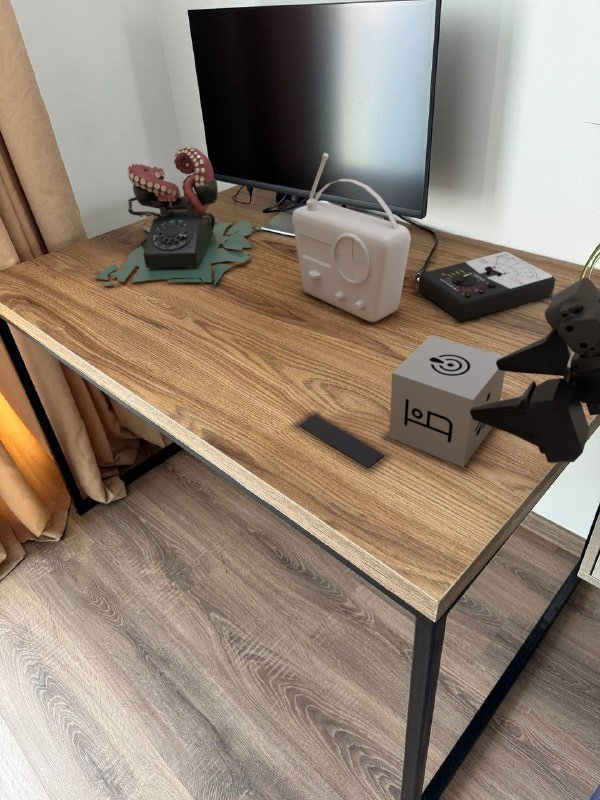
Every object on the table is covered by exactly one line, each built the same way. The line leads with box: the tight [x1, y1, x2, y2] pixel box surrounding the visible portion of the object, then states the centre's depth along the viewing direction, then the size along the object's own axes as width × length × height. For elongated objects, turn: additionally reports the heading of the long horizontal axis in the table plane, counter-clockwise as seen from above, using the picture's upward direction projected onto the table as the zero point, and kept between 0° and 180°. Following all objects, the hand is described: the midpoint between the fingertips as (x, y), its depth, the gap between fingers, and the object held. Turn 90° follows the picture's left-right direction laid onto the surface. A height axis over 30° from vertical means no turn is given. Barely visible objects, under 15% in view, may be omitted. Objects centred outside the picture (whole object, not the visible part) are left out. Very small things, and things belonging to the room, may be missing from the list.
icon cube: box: [389, 334, 506, 468], centre depth 72 cm, size 10×10×10 cm
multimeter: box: [418, 251, 556, 322], centre depth 102 cm, size 13×19×5 cm
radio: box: [291, 152, 412, 323], centre depth 97 cm, size 22×8×25 cm, turn 42°
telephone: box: [93, 146, 262, 287], centre depth 122 cm, size 35×32×20 cm
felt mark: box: [298, 414, 385, 469], centre depth 75 cm, size 12×3×1 cm, turn 44°
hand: (485, 388), depth 59 cm, fingers open, 9 cm apart
